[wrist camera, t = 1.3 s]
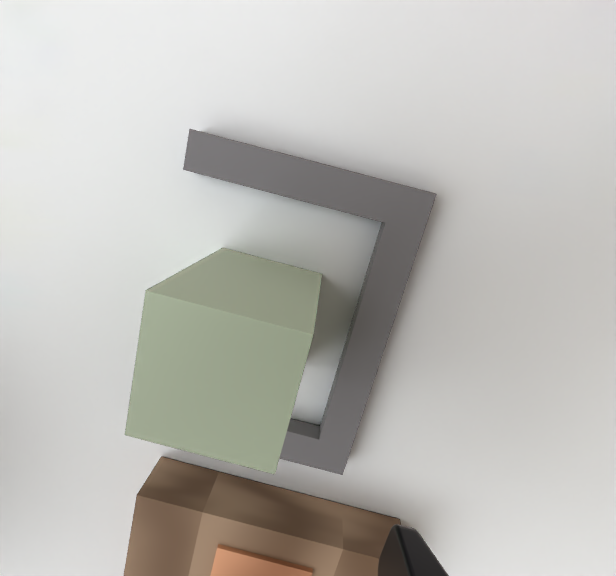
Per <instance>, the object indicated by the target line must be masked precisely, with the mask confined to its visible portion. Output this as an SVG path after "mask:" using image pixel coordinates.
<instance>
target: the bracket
mask: <svg viewBox="0 0 616 576" xmlns="http://www.w3.org/2000/svg"><path fill="white" fill-rule="evenodd" d="M183 170H187V171H190V172H194V173H198V174H202V175H206V176H209V177H213V178H217V179H221V180H224V181H228V182H232V183H236V184H240V185H243V186H247V187H251V188H255V189H259V190H262V191H266V192H270V193H274V194H278V195H281V196H285V197H289V198H293V199H296V200H300V201H304V202H308V203H312V204H315V205H319V206H323V207H327V208H331V209H334V210H338V211H342V212H346V213H350V214H353V215H357V216H361V217H365V218H369V219H372V220H376V221H380V222H382V224H381V227H380V230H379V234H378V237H377V240H376V244H375V247H374V250H373V253H372V257H371V260H370V263H369V267H368V270H367V273H366V277H365V280H364V283H363V286H362V290H361V293H360V296H359V300H358V303H357V306H356V309H355V313H354V316H353V319H352V323H351V326H350V329H349V333H348V336H347V339H346V342H345V346H344V349H343V352H342V356H341V359H340V362H339V366H338V369H337V372H336V375H335V379H334V382H333V385H332V389H331V392H330V395H329V398H328V402H327V405H326V408H325V412H324V415H323V418H322V422H321V425H320V426H317V425H313V424H309V423H305V422H301V421H298V420H294V419H290V422H289V425H288V429H287V432H286V436H285V440H284V443H283V447H282V450H281V454H280V459H284V460H288V461H291V462H295V463H299V464H303V465H307V466H310V467H314V468H318V469H322V470H326V471H329V472H333V473H337V474H341V475H343V472H344V469H345V466H346V463H347V460H348V457H349V454H350V451H351V448H352V445H353V442H354V439H355V436H356V433H357V430H358V427H359V424H360V421H361V418H362V415H363V412H364V409H365V406H366V403H367V400H368V397H369V394H370V391H371V388H372V385H373V382H374V379H375V376H376V373H377V370H378V367H379V364H380V361H381V358H382V355H383V352H384V349H385V346H386V343H387V340H388V337H389V334H390V331H391V328H392V325H393V323H394V320H395V317H396V314H397V311H398V308H399V305H400V302H401V299H402V296H403V293H404V290H405V287H406V284H407V281H408V278H409V275H410V272H411V269H412V266H413V263H414V260H415V257H416V254H417V251H418V248H419V245H420V242H421V239H422V236H423V233H424V230H425V227H426V224H427V221H428V218H429V215H430V212H431V209H432V206H433V203H434V200H435V197H436V194H435V193H431V192H427V191H424V190H420V189H416V188H412V187H409V186H405V185H401V184H397V183H393V182H390V181H386V180H382V179H378V178H374V177H371V176H367V175H363V174H359V173H355V172H352V171H348V170H344V169H340V168H337V167H333V166H329V165H325V164H321V163H318V162H314V161H310V160H306V159H302V158H299V157H295V156H291V155H287V154H283V153H280V152H276V151H272V150H268V149H265V148H261V147H257V146H253V145H249V144H246V143H242V142H238V141H234V140H230V139H227V138H223V137H219V136H215V135H212V134H208V133H204V132H200V131H196V130H193V129H190V130H189V136H188V142H187V149H186V155H185V161H184V168H183Z"/></svg>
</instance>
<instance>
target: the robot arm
mask: <svg viewBox="0 0 616 576" xmlns="http://www.w3.org/2000/svg"><path fill="white" fill-rule="evenodd" d="M378 576H449V575H448V574H447V573H446V571H445V570H444V568H443V567H442V565H441V564H440V563H439V561H438V560H437V558H436V557H435V555H434V554H433V553H432V551H431V550H430V548H429V547H428V545H427V544H426V543H425V541H424V540H423V538H422V537H421V535H420V534H419V533H418V532H417V531H416V530H415V529H413V528H410V527H406V526H403V525H399V524H395V525H393V526H392V528H391V530H390V532H389V534H388V537H387V540H386V542H385V545H384V547H383V550H382V552H381V555H380V558H379V563H378Z"/></svg>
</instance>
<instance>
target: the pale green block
mask: <svg viewBox="0 0 616 576" xmlns="http://www.w3.org/2000/svg"><path fill="white" fill-rule="evenodd" d="M321 279H322V274H321V273H317V272H313V271H309V270H305V269H302V268H298V267H294V266H290V265H286V264H283V263H279V262H275V261H271V260H268V259H264V258H260V257H256V256H252V255H249V254H245V253H241V252H237V251H233V250H230V249H226V248H221V249H219V250H218V251H216V252H214V253H212V254H210V255H209V256H207V257H205V258H203V259H201V260H200V261H198V262H196V263H194V264H192V265H191V266H189V267H187V268H185V269H183V270H182V271H180V272H178V273H176V274H174V275H173V276H171V277H169V278H167V279H165V280H164V281H162V282H160V283H158V284H156V285H155V286H153V287H151V288H149V289H147V290H146V292H145V299H144V306H143V313H142V319H141V326H140V333H139V340H138V347H137V354H136V361H135V368H134V374H133V381H132V388H131V395H130V402H129V409H128V416H127V423H126V429H125V435H127V436H130V437H134V438H138V439H142V440H146V441H149V442H153V443H157V444H161V445H165V446H168V447H172V448H176V449H180V450H184V451H187V452H191V453H195V454H199V455H203V456H206V457H210V458H214V459H218V460H222V461H225V462H229V463H233V464H237V465H241V466H244V467H248V468H252V469H256V470H260V471H263V472H267V473H271V474H275V472H276V468H277V465H278V461H279V458H280V454H281V450H282V447H283V443H284V440H285V436H286V432H287V429H288V425H289V422H290V418H291V414H292V411H293V407H294V404H295V400H296V396H297V393H298V389H299V386H300V382H301V378H302V375H303V371H304V368H305V364H306V360H307V357H308V353H309V350H310V346H311V342H312V339H313V335H314V328H315V321H316V314H317V307H318V300H319V293H320V286H321Z"/></svg>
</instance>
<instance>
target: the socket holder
mask: <svg viewBox="0 0 616 576" xmlns="http://www.w3.org/2000/svg"><path fill="white" fill-rule="evenodd" d="M395 524H399V525H401V523H400V519H397V518H393V517H389V516H386V515H382V514H378V513H374V512H370V511H366V510H363V509H359V508H355V507H351V506H347V505H344V504H340V503H336V502H332V501H328V500H325V499H321V498H317V497H313V496H309V495H306V494H302V493H298V492H294V491H290V490H287V489H283V488H279V487H275V486H271V485H267V484H264V483H260V482H256V481H252V480H248V479H245V478H241V477H237V476H233V475H229V474H226V473H222V472H218V471H214V470H210V469H207V468H203V467H199V466H195V465H191V464H188V463H184V462H180V461H176V460H172V459H168V458H165V457H161V458H160V459H159V461H158V463H157V464H156V466H155V467H154V469H153V470H152V472H151V474H150V475H149V477H148V478H147V480H146V481H145V483H144V485H143V486H142V488H141V489H140V491H139V492H138V494H137V497H136V503H135V509H134V515H133V522H132V528H131V534H130V540H129V546H128V552H127V558H126V564H125V571H124V576H378V563H379V558H380V555H381V552H382V550H383V547H384V545H385V542H386V540H387V537H388V534H389V532H390V530H391V528H392V526H393V525H395Z"/></svg>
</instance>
